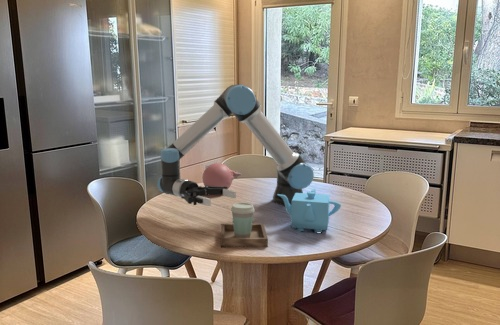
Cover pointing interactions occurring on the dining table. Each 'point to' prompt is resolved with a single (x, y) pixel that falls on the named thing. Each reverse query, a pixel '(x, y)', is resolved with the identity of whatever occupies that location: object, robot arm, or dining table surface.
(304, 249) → the dining table surface
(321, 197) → the teakettle
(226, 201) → the dining table surface
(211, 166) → the pink balloon
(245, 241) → the wooden tray
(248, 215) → the coffee cup
